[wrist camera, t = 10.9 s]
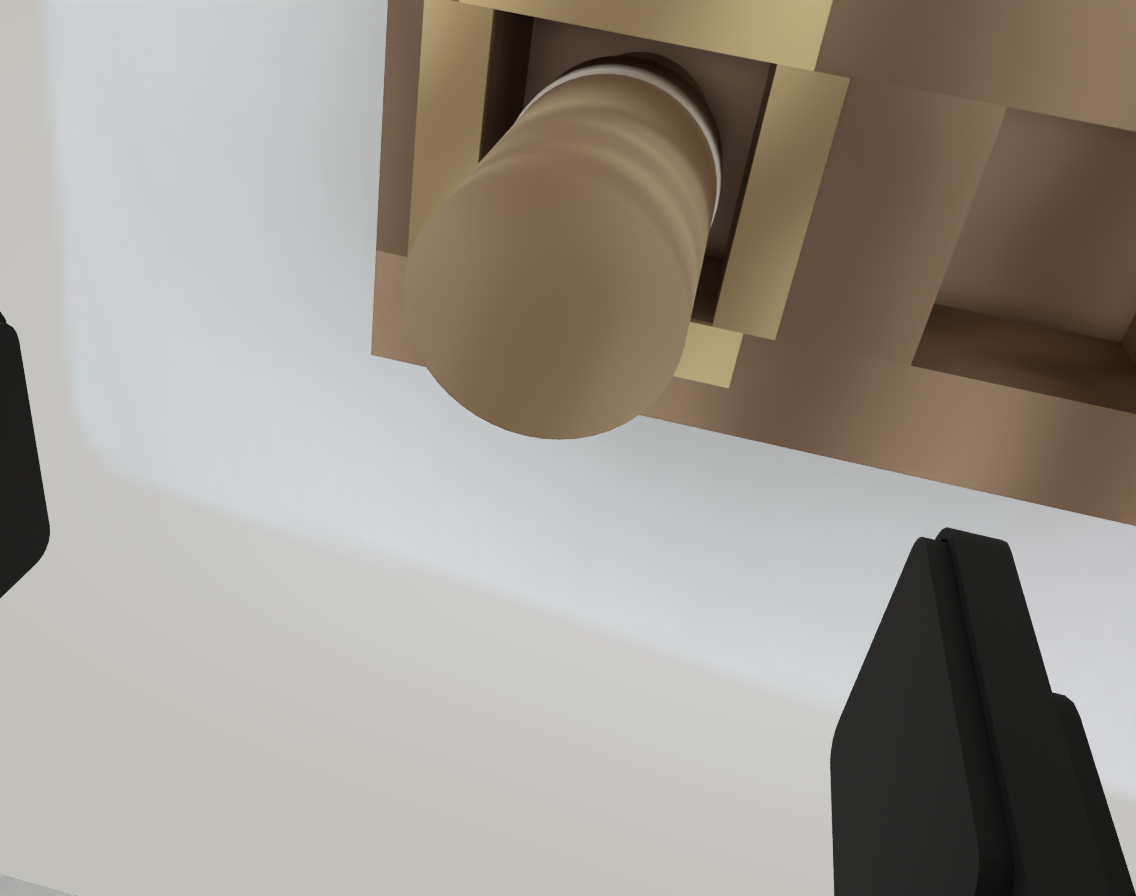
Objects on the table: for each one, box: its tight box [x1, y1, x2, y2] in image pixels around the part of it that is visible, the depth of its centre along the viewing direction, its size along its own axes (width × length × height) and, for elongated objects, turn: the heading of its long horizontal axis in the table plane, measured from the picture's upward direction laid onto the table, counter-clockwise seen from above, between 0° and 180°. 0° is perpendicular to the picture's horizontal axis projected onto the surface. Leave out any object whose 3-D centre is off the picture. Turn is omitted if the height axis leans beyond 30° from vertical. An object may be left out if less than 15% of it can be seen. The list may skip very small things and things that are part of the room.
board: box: [371, 0, 1136, 526], centre depth 23 cm, size 20×11×5 cm, turn 81°
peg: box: [404, 52, 723, 440], centre depth 20 cm, size 4×4×11 cm
